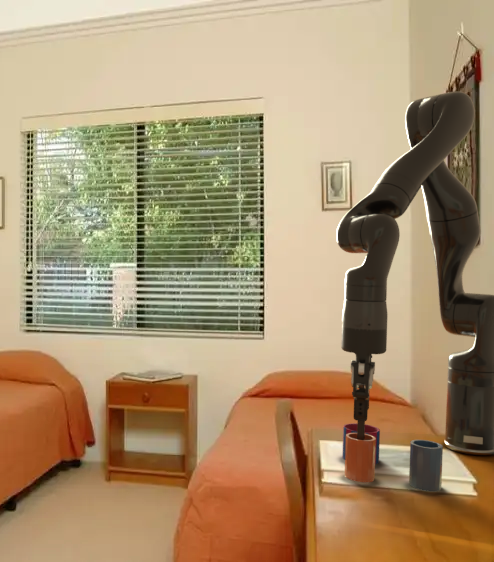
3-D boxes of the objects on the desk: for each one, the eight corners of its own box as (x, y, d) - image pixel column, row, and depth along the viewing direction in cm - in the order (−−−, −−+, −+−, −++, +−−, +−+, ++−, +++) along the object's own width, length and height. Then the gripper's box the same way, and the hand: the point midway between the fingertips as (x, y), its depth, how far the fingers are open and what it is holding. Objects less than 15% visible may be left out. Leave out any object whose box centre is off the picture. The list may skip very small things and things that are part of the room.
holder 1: (360, 474, 111) (361, 431, 111) (380, 483, 107) (382, 439, 106) (338, 477, 110) (339, 434, 109) (358, 486, 105) (359, 442, 105)
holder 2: (423, 482, 108) (425, 438, 107) (447, 492, 103) (449, 446, 103) (402, 485, 106) (403, 441, 106) (425, 496, 101) (427, 449, 101)
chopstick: (356, 475, 109) (358, 404, 108) (363, 476, 108) (365, 405, 108) (355, 477, 108) (357, 406, 107) (363, 478, 107) (365, 407, 107)
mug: (381, 460, 119) (382, 427, 119) (371, 475, 111) (372, 439, 110) (346, 454, 123) (347, 421, 122) (334, 467, 114) (335, 432, 114)
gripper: (386, 330, 99) (383, 427, 100) (387, 323, 112) (384, 408, 113) (338, 328, 102) (336, 421, 103) (344, 320, 115) (342, 403, 116)
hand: (361, 414), depth 108 cm, fingers open, 8 cm apart
